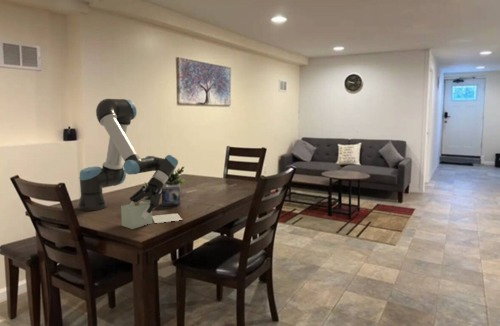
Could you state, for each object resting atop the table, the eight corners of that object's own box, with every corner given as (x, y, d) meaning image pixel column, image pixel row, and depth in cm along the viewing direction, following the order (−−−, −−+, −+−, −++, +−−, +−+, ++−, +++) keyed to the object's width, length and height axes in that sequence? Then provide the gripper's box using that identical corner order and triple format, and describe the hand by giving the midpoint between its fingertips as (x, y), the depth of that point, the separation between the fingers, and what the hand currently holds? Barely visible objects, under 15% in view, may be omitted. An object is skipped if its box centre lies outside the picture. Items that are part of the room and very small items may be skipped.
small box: (162, 206, 216) (161, 189, 215) (161, 203, 222) (161, 187, 221) (180, 205, 219) (179, 188, 217) (179, 202, 225) (179, 186, 224)
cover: (132, 229, 174) (131, 206, 173) (121, 225, 180) (120, 203, 178) (152, 223, 184) (151, 201, 182) (142, 220, 189) (141, 198, 187)
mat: (155, 223, 183) (155, 222, 183) (151, 216, 195) (151, 215, 195) (182, 220, 189) (182, 219, 189) (177, 214, 200) (177, 213, 200)
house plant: (131, 208, 211) (130, 180, 209) (152, 204, 221) (152, 177, 218) (143, 213, 201) (142, 184, 199) (165, 208, 210) (164, 181, 208)
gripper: (178, 188, 184) (155, 223, 175) (147, 182, 199) (124, 214, 189) (169, 179, 179) (145, 215, 170) (138, 174, 194) (115, 207, 184)
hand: (134, 215), depth 180 cm, fingers open, 13 cm apart
